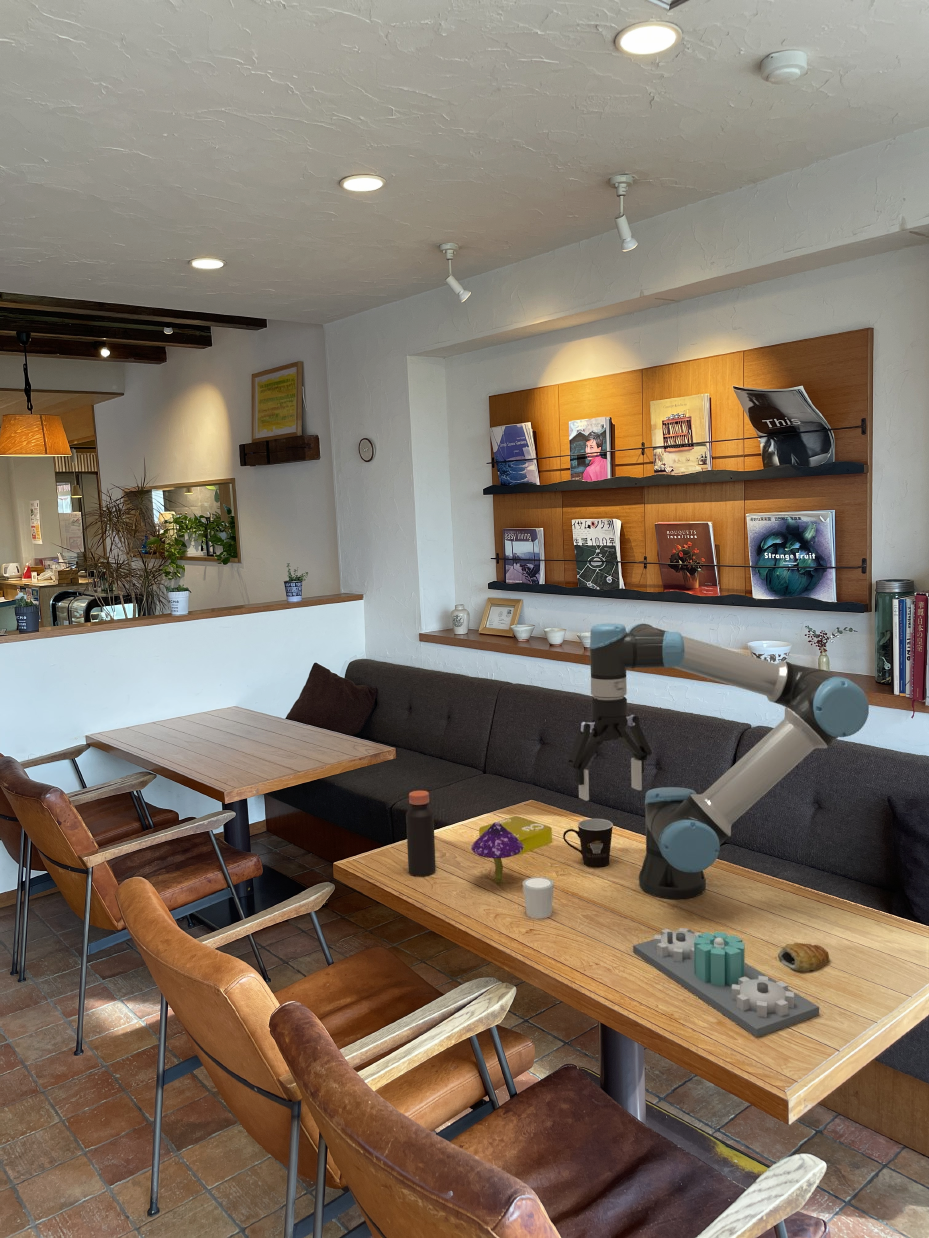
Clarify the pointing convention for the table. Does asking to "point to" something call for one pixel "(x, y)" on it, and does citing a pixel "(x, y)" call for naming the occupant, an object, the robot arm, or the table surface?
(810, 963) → the pastry
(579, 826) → the coffee mug
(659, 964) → the gear board
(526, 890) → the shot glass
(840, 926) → the table surface
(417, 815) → the bottle
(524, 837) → the element tile
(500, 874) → the decorative mushroom
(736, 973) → the idler gear
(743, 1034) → the table surface
